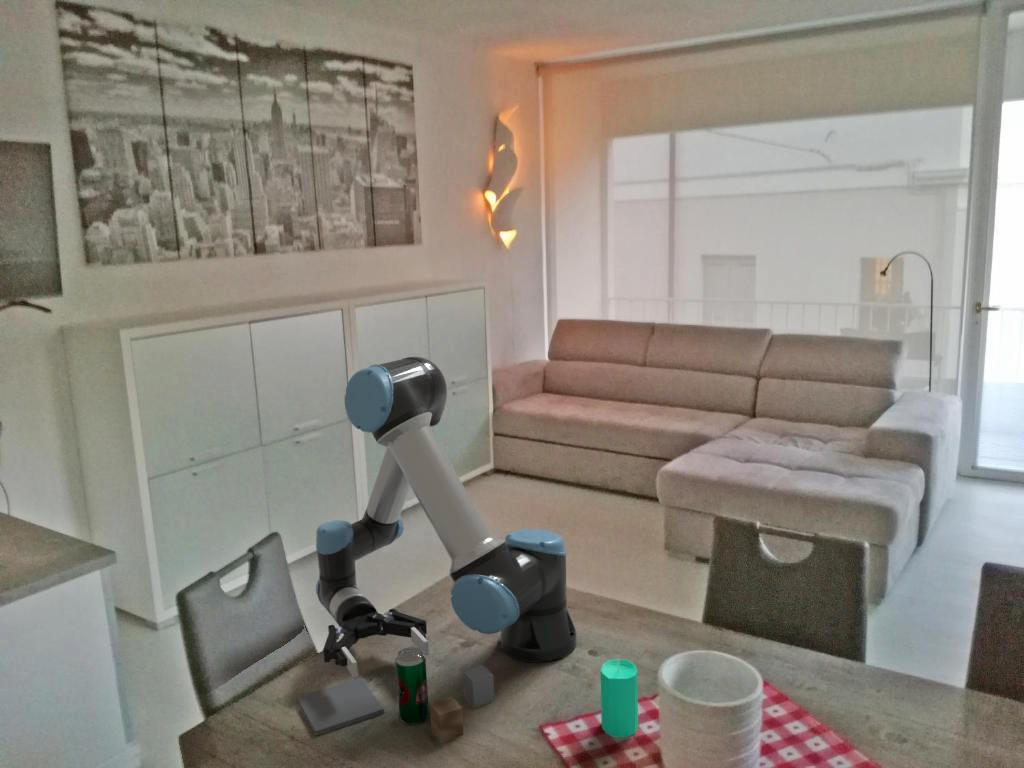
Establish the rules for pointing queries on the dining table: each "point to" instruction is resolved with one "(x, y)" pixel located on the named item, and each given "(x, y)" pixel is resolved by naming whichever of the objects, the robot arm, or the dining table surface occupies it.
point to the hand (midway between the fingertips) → (391, 658)
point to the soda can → (412, 685)
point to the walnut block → (446, 719)
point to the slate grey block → (478, 686)
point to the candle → (619, 698)
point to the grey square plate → (339, 706)
